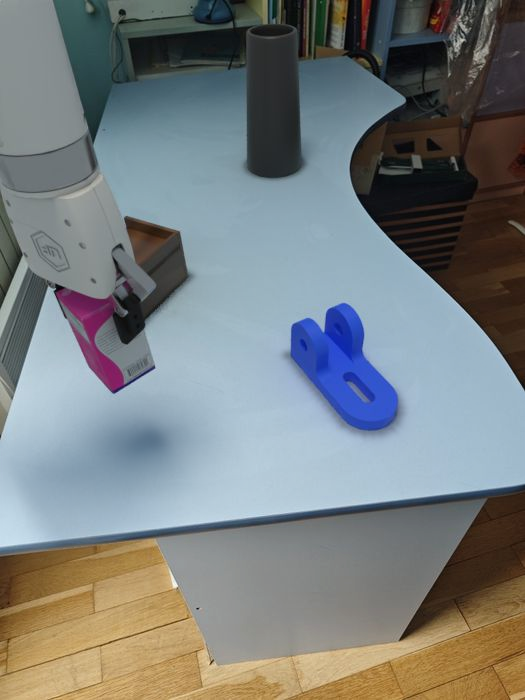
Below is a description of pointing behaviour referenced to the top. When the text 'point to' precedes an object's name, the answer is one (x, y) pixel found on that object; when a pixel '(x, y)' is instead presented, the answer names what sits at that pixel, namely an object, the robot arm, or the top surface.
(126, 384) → the supplement box
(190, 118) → the top surface
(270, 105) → the vase
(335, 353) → the bracket
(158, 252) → the wooden crate
